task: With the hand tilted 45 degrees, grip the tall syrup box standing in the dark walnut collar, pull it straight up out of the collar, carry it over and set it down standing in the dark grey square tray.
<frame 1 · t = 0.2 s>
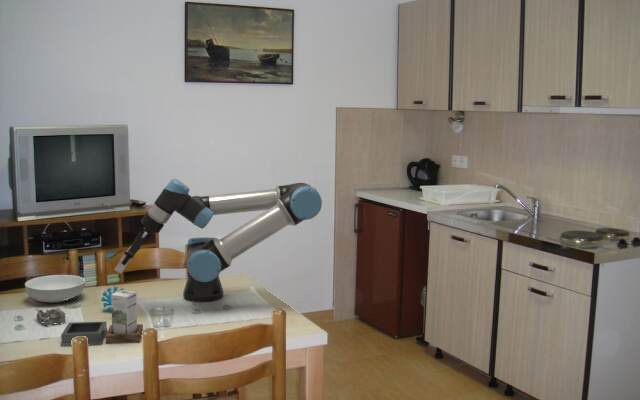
hand: (120, 266, 233), 16 cm above the table, tool tilted 35°, fingers open, 13 cm apart
serving bowl: (56, 300, 246), on the table
grey lumpy mound: (51, 322, 221), on the table
syrup box: (124, 338, 207), resting in walnut collar
gear: (117, 310, 235), on the table
walnut collar: (124, 337, 207), on the table
dark grey square tray: (84, 338, 205), on the table
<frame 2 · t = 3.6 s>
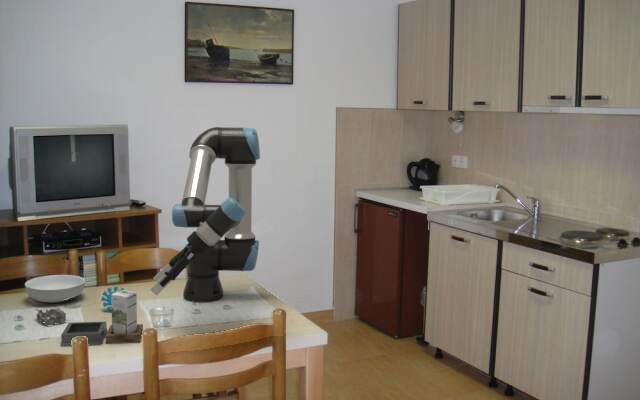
hand: (154, 286, 206), 16 cm above the table, tool tilted 45°, fingers open, 13 cm apart
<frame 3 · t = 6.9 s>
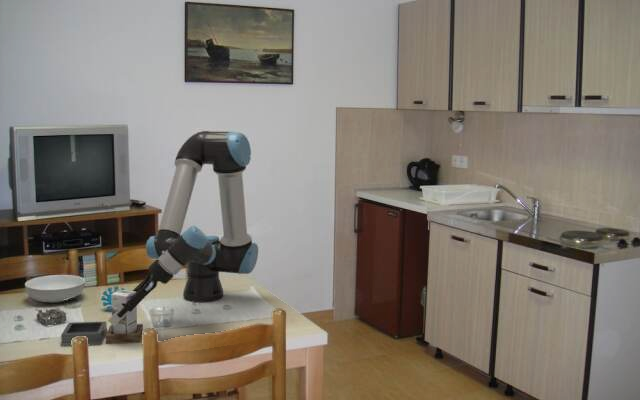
hand: (113, 318, 206), 6 cm above the table, tool tilted 45°, fingers closed on syrup box, 7 cm apart
syrup box: (124, 337, 207), resting in walnut collar, touching gripper
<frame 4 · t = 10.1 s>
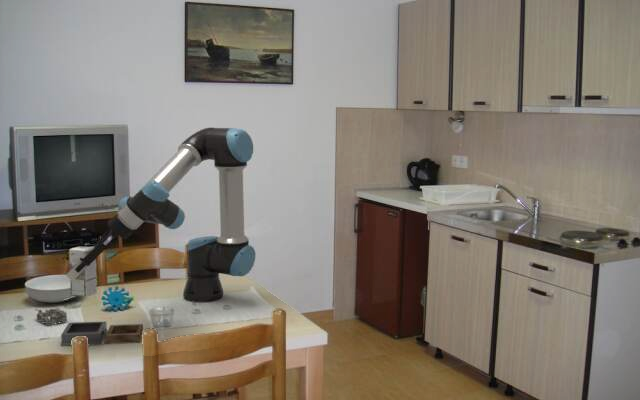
hand: (71, 274, 202), 20 cm above the table, tool tilted 45°, fingers closed on syrup box, 7 cm apart
syrup box: (83, 295, 203), point 14 cm above the table, touching gripper
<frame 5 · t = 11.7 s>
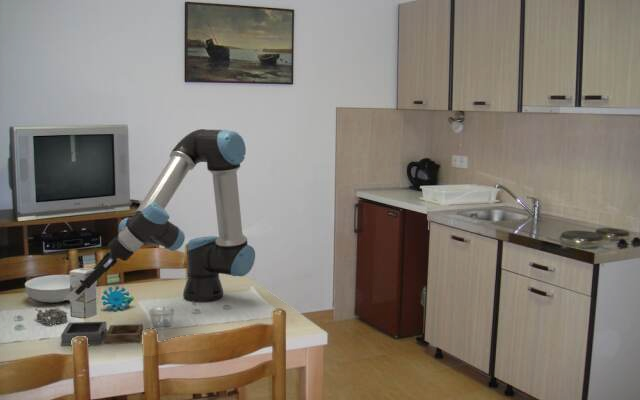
hand: (72, 296, 202), 14 cm above the table, tool tilted 45°, fingers closed on syrup box, 7 cm apart
syrup box: (83, 316, 203), point 7 cm above the table, touching gripper
when the fingers open (8 cm above the table, at t = 13.3 s): syrup box drops 1 cm, resting on dark grey square tray.
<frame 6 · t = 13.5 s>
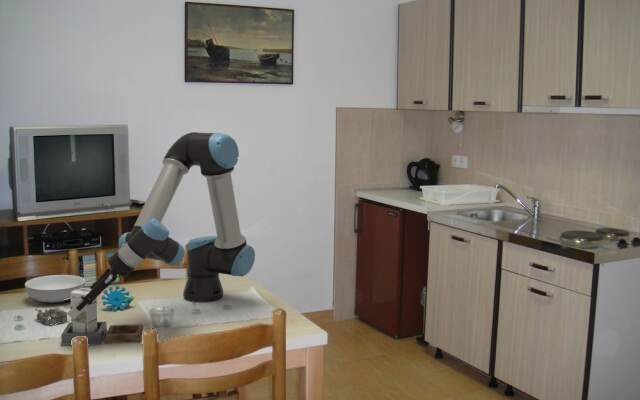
hand: (73, 311, 203), 9 cm above the table, tool tilted 45°, fingers open, 10 cm apart
syrup box: (84, 336, 205), point 1 cm above the table, touching dark grey square tray
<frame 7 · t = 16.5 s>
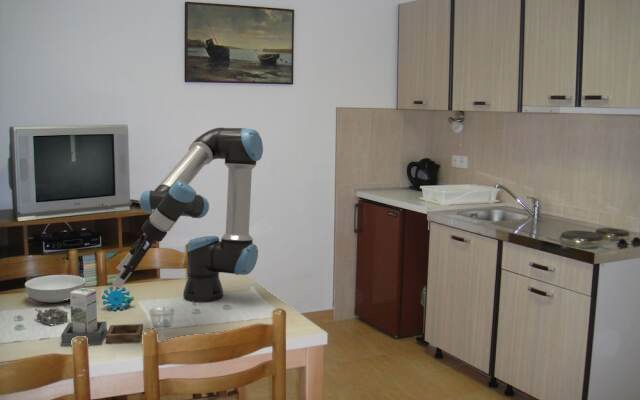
hand: (118, 278, 208), 18 cm above the table, tool tilted 35°, fingers open, 13 cm apart
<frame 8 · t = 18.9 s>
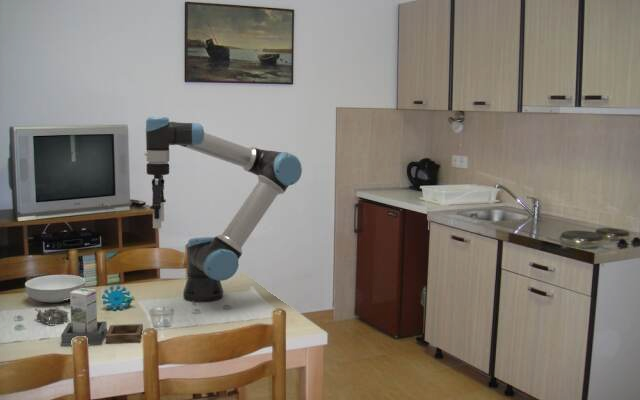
hand: (158, 224, 227), 32 cm above the table, tool pointing down, fingers open, 13 cm apart
at the end: syrup box 0.3 cm off-centre on the dark grey square tray, point 0.8 cm above the dark grey square tray's base; syrup box tilted 0°; the gripper is holding nothing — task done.
